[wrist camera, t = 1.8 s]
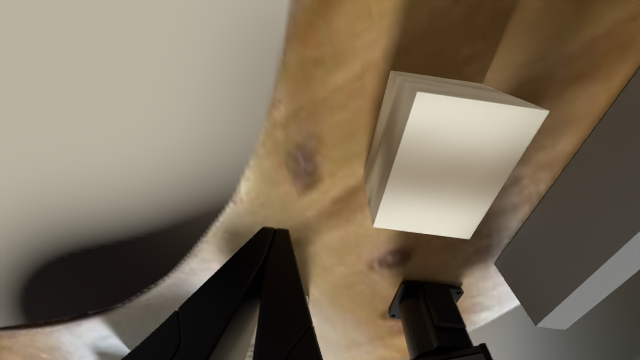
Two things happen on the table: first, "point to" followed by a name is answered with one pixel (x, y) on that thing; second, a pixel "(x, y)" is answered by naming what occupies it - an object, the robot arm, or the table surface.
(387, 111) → the pale block
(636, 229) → the grey flat board
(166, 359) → the robot arm
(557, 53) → the table surface
